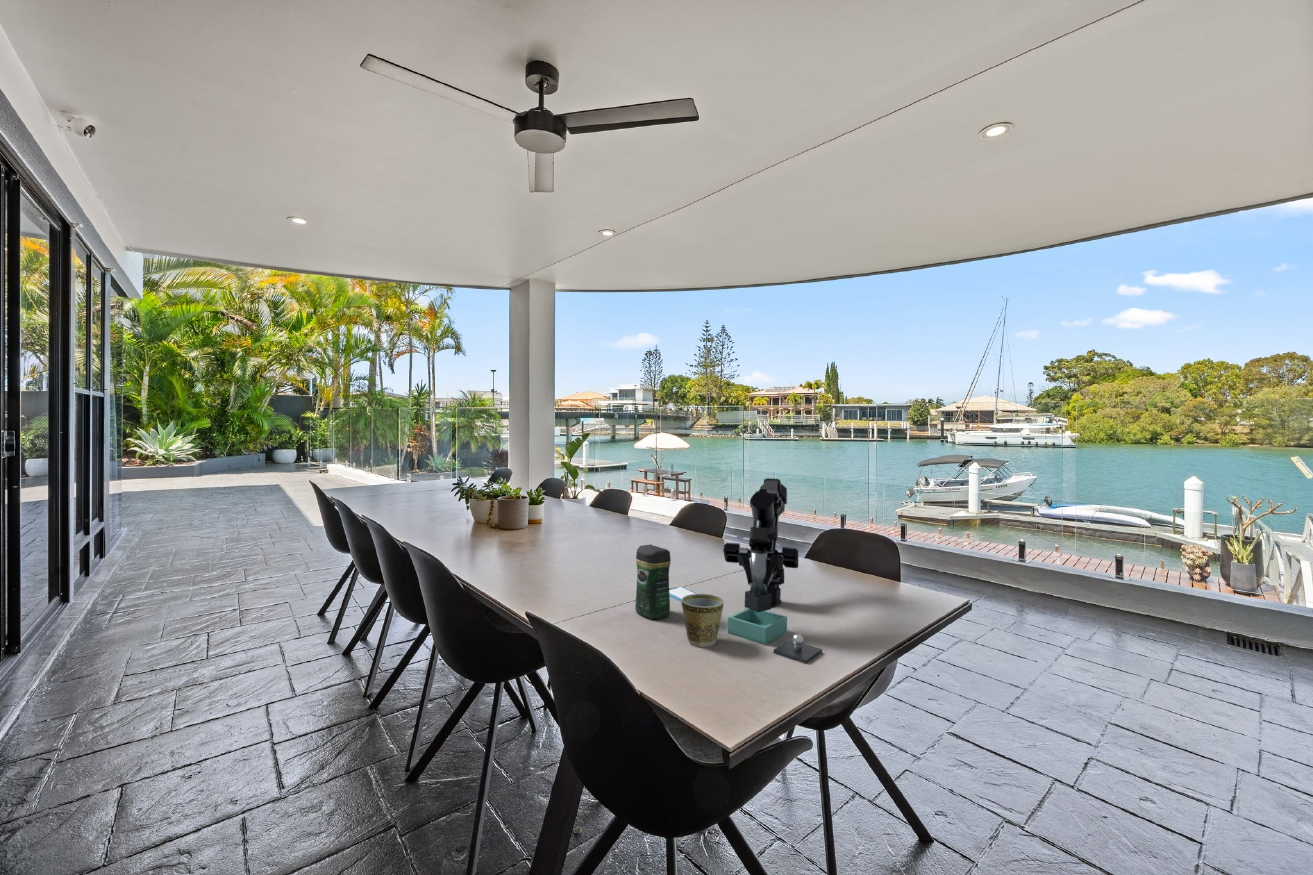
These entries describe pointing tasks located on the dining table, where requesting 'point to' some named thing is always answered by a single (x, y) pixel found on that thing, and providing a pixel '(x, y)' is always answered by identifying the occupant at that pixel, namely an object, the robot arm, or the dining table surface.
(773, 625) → the bin
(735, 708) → the dining table surface
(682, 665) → the dining table surface
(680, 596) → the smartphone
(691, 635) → the ceramic cup
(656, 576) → the coffee jar
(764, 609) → the strut
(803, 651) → the stud base
